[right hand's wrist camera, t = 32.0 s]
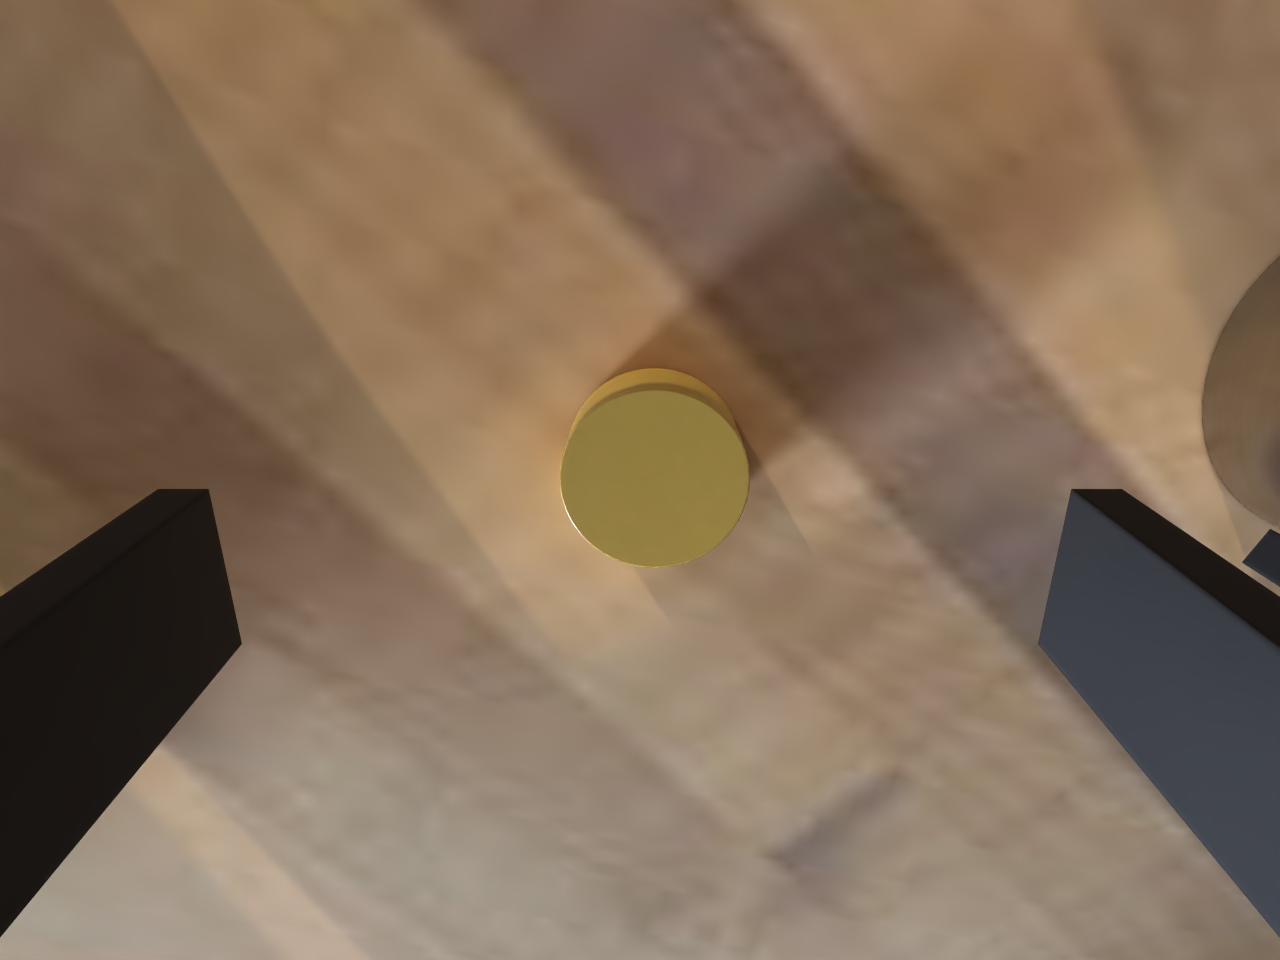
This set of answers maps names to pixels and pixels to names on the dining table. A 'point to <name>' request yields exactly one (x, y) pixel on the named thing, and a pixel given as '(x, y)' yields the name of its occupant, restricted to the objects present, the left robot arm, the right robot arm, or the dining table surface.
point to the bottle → (1248, 400)
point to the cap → (654, 469)
